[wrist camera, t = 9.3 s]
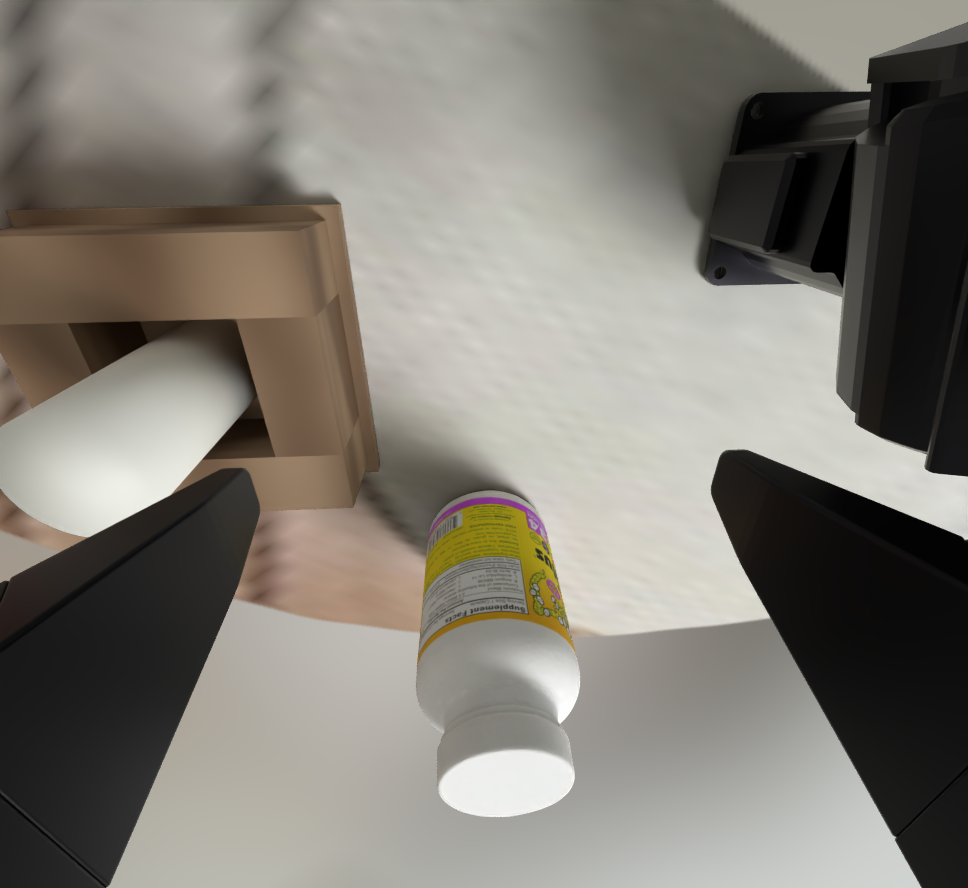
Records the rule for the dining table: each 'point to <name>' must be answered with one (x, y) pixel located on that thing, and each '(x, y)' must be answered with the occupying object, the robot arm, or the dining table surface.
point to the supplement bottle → (496, 658)
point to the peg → (127, 429)
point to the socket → (202, 296)
